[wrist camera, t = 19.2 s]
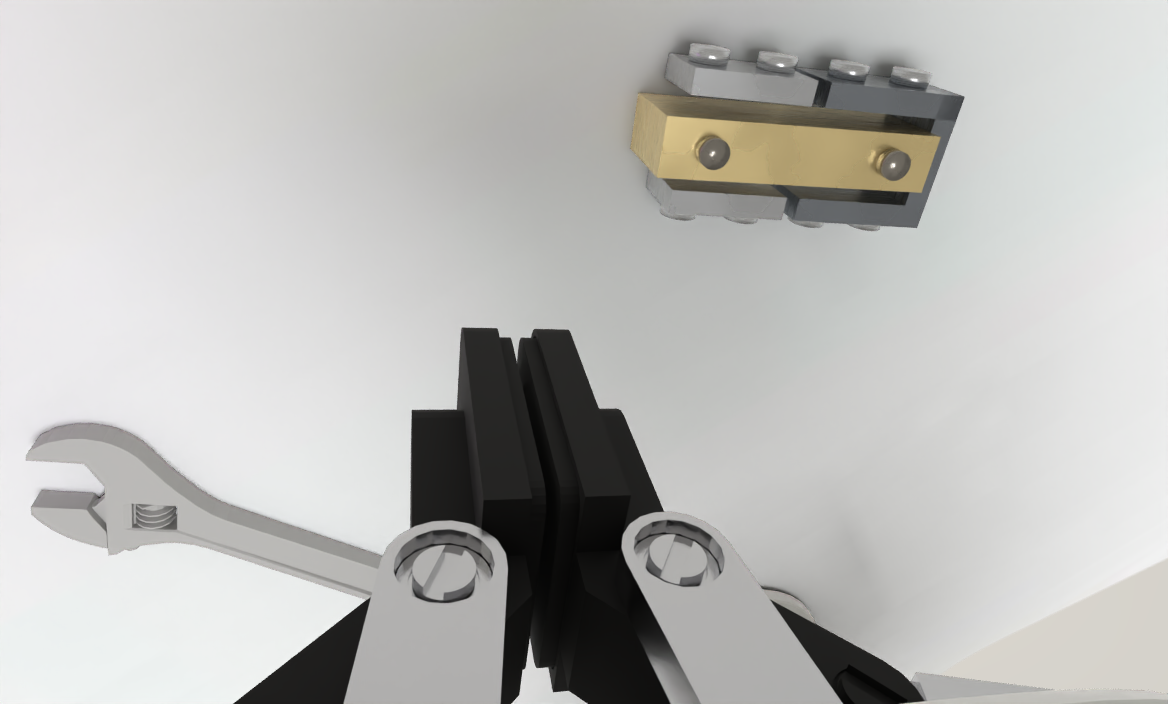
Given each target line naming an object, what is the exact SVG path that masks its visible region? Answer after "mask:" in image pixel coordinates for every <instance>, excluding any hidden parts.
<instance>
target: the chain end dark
mask: <svg viewBox="0 0 1168 704" xmlns="http://www.w3.org/2000/svg"><path fill="white" fill-rule="evenodd" d="M869 68H870V66H869V65H866V64H862V63H857V62H852V61H846V60H838V59H832V60H831V62H830V66H829V70H828V71H827V70H818V69H809V68H800V67H796V70H795V71H796V72H799V73H801V74H803V75H806V76H808V77H810V78H813V79H815V80H818V81H819V82H818V85H817V89H816V93H815V96H814V100H813V103H815V104H818V105H820V106H822V107H824V108H829V109H840V110H850V111H860V112H870V113H880V114H888V115H891V116H893V117H896V118H898V119H900V120H903V121H905V122H907V123H910V124H912V125H914V126H917V127H919V128H921V129H924V130H926V131H928V132H931V133H933V134H935V135H938V136H940V137H941V138H940V141H939V144H938V147H937V149H936V152H935V155H934V158H933V161H932V164H931V167H930V170H929V172H928V175H927V178H926V181H925V184H924V187H923V190H922V193H917V192H899V191H882V190H864V189H846V188H828V187H811V186H793V185H775V184H770V185H771V186H773V187H774V188H775V189H776V190H778V191H779V192H780V193H782V194H783V195H784V196H786V197H787V200H786V204H785V208H784V213H785V214H786V215H787V216H788V219H789V220H790V221H791V222H793V223H795V224H797V225H801V226H805V227H811V228H819V227H822V225H823V222H825V223H843V224H848V225H850V226H852V227H855V228H858V229H861V230H867V231H877V230H879V229H880V226H894V227H911V228H917V226H918V223H919V221H920V218H921V215H922V212H923V210H924V207H925V204H926V202H927V199H928V196H929V193H930V191H931V188H932V185H933V182H934V180H935V177H936V174H937V171H938V169H939V166H940V163H941V160H942V158H943V155H944V152H945V149H946V147H947V144H948V141H949V138H950V136H951V133H952V130H953V128H954V125H955V122H956V119H957V117H958V114H959V111H960V108H961V106H962V103H963V100H964V96H961V95H958V94H955V93H952V92H949V91H946V90H943V89H940V88H937V87H934V86H931V85H928V84H929V81H930V78H931V75H932V73H930V72H927V71H923V70H918V69H913V68H907V67H898V66H894V67H893V70H892V73H891V76H890V78H889V77H880V76H872V75H868V72H869Z"/></svg>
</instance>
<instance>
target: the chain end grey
mask: <svg viewBox="0 0 1168 704" xmlns="http://www.w3.org/2000/svg"><path fill="white" fill-rule="evenodd" d="M729 55H730V49H728V48H724V47H720V46H715V45H709V44H700V43H691V45H690V51H689V55H684V54H675V53H669V56H668V62H667V68H666V74H665V78H666V79H667V80H669V81H671V82H672V83H674V84H675V85H677V86H678V87H680V88H681V89H683V90H684V91H686V92H687V93H689V94H690V95H697V96H708V97H718V98H728V99H738V100H748V101H758V102H768V103H779V104H789V105H799V106H809V107H812V104H813V100H814V96H815V93H816V89H817V85H818V82H819V81H818V80H815V79H813V78H810V77H808V76H806V75H803V74H801V73H799V72H796V71H795V70H796V66H797V62H798V57H796V56H792V55H788V54H783V53H777V52H769V51H759V56H758V60H757V63H755V62H746V61H737V60H728V59H729ZM646 188H647V189H648V190H649V191H650V192H651V194H652V195H653V196H654V197H655V198H656V199H657V201H658V202H659V203H660V204H661V208H660V213H661V214H662V215H664V216H666V217H669V218H672V219H676V220H693V219H695V217H696V215H706V216H723V217H724V218H726V219H728V220H730V221H733V222H737V223H742V224H754V223H756V222H757V220H758V219H774V220H781V219H782V215H783V212H784V208H785V204H786V200H787V197H786V196H784V195H783V194H782V193H780V192H779V191H778V190H776V189H775V188H774V187H773V186H771V185H770V184H757V183H740V182H722V181H704V180H687V179H669V178H657V177H656V176H655V175H654V174H653V173H652V172H651V171H650V169H649V173H648V178H647V184H646Z"/></svg>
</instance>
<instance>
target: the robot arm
mask: <svg viewBox="0 0 1168 704" xmlns="http://www.w3.org/2000/svg"><path fill="white" fill-rule="evenodd" d="M529 639H531V645H532V651H533V658H534V663H535V666H536V668H545V667H549V673H550V678H551V684H552V689H553V692H561V691H570V692H572V693H573V694H575V695H576V696H577V697H579V698H580V699H582V700H583V701H585V702H586V703H588V704H1168V693H1161V692H1153V691H1144V690H1121V689H1076V690H1052V689H1044V688H1036V687H1029V686H1020V685H1013V684H1004V683H996V682H988V681H981V680H972V679H965V678H957V677H949V676H941V675H933V674H925V673H917V672H916V673H915V675H914V677H913V679H912V681H909V680H908V679H907V678H906V677H905V676H904V675H903V674H902V673H900V672H899V671H898V670H896V669H895V668H893V667H892V666H890V665H889V664H887V663H886V662H884V661H883V660H881V659H879V658H877V657H875V656H873V655H872V654H870V653H868V652H866V651H864V650H862V649H861V648H859V647H857V646H855V645H853V644H851V643H850V642H848V641H846V640H844V639H842V638H840V637H838V636H837V635H835V634H833V633H831V632H829V631H827V630H826V629H824V628H822V627H820V626H818V625H816V623H815V621H814V619H813V617H812V616H811V614H810V612H809V610H808V609H807V608H806V607H805V606H804V605H803V603H802V602H801V601H799V600H797V599H796V598H794V597H792V596H791V595H788V594H785V593H782V592H779V591H772V590H764V589H762V588H761V586H760V585H759V584H758V582H757V581H756V579H755V578H754V576H753V575H752V574H751V572H750V571H749V569H748V568H747V567H746V565H745V564H744V562H743V561H742V559H741V558H740V557H739V555H738V554H737V552H736V551H735V549H734V548H733V547H732V545H731V544H730V542H729V541H728V540H727V539H726V538H725V537H724V536H723V535H722V534H721V533H720V532H719V531H718V530H717V529H715V528H714V527H712V526H711V525H709V524H708V523H706V522H705V521H702V520H700V519H697V518H695V517H692V516H690V515H687V514H681V513H676V512H664V511H663V508H662V506H661V503H660V501H659V499H658V496H657V494H656V491H655V489H654V487H653V484H652V482H651V479H650V477H649V475H648V472H647V470H646V467H645V465H644V463H643V460H642V458H641V456H640V453H639V451H638V448H637V446H636V444H635V441H634V439H633V436H632V434H631V432H630V429H629V427H628V424H627V422H626V420H625V417H624V415H623V414H622V412H621V410H619V409H599V408H598V405H597V403H596V400H595V397H594V395H593V392H592V389H591V387H590V384H589V381H588V379H587V376H586V373H585V371H584V368H583V365H582V363H581V360H580V357H579V355H578V352H577V349H576V347H575V344H574V341H573V338H572V336H571V333H570V331H569V330H555V329H534V330H533V333H532V337H531V338H521V339H520V342H519V349H518V359H517V361H516V357H515V353H514V348H513V344H512V340H511V338H501V337H499V333H498V329H497V328H462V330H461V341H460V360H459V379H458V398H457V410H412V428H411V516H410V529H409V530H407V531H405V532H403V533H402V534H400V535H398V536H397V537H396V538H395V539H394V540H393V541H392V542H391V543H390V544H389V545H388V546H387V548H386V550H385V552H384V554H383V556H382V558H381V561H380V564H379V568H378V572H377V576H376V580H375V584H374V588H373V591H372V595H371V597H370V598H369V599H367V600H366V601H365V602H363V603H362V604H361V605H360V606H358V607H357V608H356V609H354V610H353V611H352V612H351V613H349V614H348V615H347V616H345V617H344V618H343V619H342V620H340V621H339V622H338V623H336V624H335V625H334V626H333V627H331V628H330V629H329V630H327V631H326V632H325V633H324V634H322V635H321V636H320V637H318V638H317V639H316V640H315V641H313V642H312V643H311V644H309V645H308V646H307V647H306V648H304V649H303V650H302V651H300V652H299V653H298V654H297V655H295V656H294V657H293V658H291V659H290V660H289V661H288V662H286V663H285V664H284V665H282V666H281V667H280V668H279V669H277V670H276V671H275V672H273V673H272V674H271V675H270V676H268V677H267V678H266V679H264V680H263V681H262V682H261V683H259V684H258V685H257V686H255V687H254V688H253V689H252V690H250V691H249V692H248V693H246V694H245V695H244V696H243V697H241V698H240V699H239V700H237V701H236V702H235V703H234V704H511V703H512V702H513V701H514V700H515V699H516V698H517V697H518V696H519V692H520V685H521V677H522V669H525V667H526V661H527V653H528V646H529Z"/></svg>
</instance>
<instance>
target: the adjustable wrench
mask: <svg viewBox="0 0 1168 704" xmlns="http://www.w3.org/2000/svg"><path fill="white" fill-rule="evenodd" d="M26 460H28V461H44V462H61V463H77V464H85V466H86V467H87V468H88V469H89V470H90V471H91V472H92V473H93V474H94V476H95V477H96V478H97V479H98V480H99V481H100V482H101V483H102V484H103V486H104V487H105V494H104V495H103V496H102V497H101V498H98V496H97V495H96V494H95V493H86V492H68V491H50V490H41V492H40V493H39V495H38V497H37V498H36V500H35V501H34V503H33V505H32V506H31V515H32V516H34V517H35V518H36V519H37V520H38V521H40V522H41V523H42V524H44V525H46V526H47V527H49V528H50V529H52V530H54V531H55V532H57V533H59V534H61V535H63V536H66V537H68V538H70V539H73V540H76V541H79V542H83V543H86V544H90V545H94V546H98V547H102V548H108V555H115V554H118V553H120V552H122V551H123V550H128V551H130V550H135V549H137V548H138V547H139V546H142V545H151V544H160V543H183V544H190V545H196V546H200V547H204V548H209V549H212V550H215V551H218V552H221V553H224V554H227V555H230V556H233V557H236V558H239V559H242V560H245V561H249V562H252V563H255V564H258V565H261V566H264V567H267V568H270V569H273V570H276V571H279V572H282V573H285V574H289V575H292V576H295V577H298V578H301V579H304V580H307V581H310V582H313V583H316V584H319V585H322V586H325V587H329V588H332V589H335V590H338V591H341V592H344V593H347V594H350V595H353V596H356V597H359V598H362V599H365V600H367V599H369V598H370V597H371V595H372V591H373V588H374V584H375V580H376V576H377V572H378V568H379V564H380V561H381V558H382V556H380V555H377V554H374V553H371V552H368V551H365V550H362V549H359V548H356V547H353V546H351V545H348V544H345V543H342V542H339V541H336V540H333V539H330V538H327V537H324V536H321V535H318V534H315V533H312V532H309V531H306V530H303V529H300V528H297V527H294V526H291V525H288V524H285V523H282V522H279V521H276V520H273V519H270V518H267V517H264V516H261V515H258V514H255V513H252V512H249V511H246V510H243V509H241V508H238V507H235V506H232V505H229V504H227V503H224V502H222V501H220V500H217V499H215V498H214V497H212V496H210V495H209V494H207V493H205V492H204V491H202V490H201V489H199V488H198V487H197V486H195V485H194V484H193V483H191V482H190V481H189V480H187V479H186V478H185V477H183V476H182V475H181V474H180V473H178V472H177V471H176V470H175V469H173V468H172V467H171V466H170V465H169V464H168V463H167V462H166V461H165V460H163V459H162V458H161V457H160V456H159V455H158V454H157V453H156V452H155V451H154V450H153V449H152V448H150V447H149V446H148V445H147V444H146V443H145V442H144V441H142V440H141V439H139V438H138V437H136V436H134V435H132V434H130V433H128V432H126V431H123V430H121V429H118V428H115V427H112V426H106V425H100V424H93V423H78V424H71V425H65V426H60V427H55V428H53V429H51V430H49V431H47V432H45V433H43V434H41V435H40V436H39V437H38V439H37V440H36V442H35V443H34V445H33V446H32V448H31V449H30V450H29V452H28V453H27V455H26ZM176 506H177V515H176Z"/></svg>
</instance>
